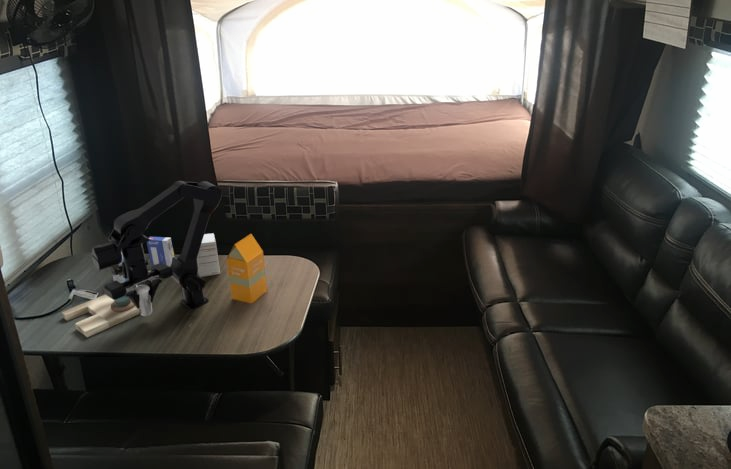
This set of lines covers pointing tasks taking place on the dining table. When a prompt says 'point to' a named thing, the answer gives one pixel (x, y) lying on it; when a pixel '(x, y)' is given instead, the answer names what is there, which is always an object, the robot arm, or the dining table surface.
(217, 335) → the dining table surface
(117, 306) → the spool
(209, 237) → the supplement box
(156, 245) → the walkman
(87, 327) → the board
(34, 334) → the dining table surface
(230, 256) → the orange juice
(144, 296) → the milkshake
